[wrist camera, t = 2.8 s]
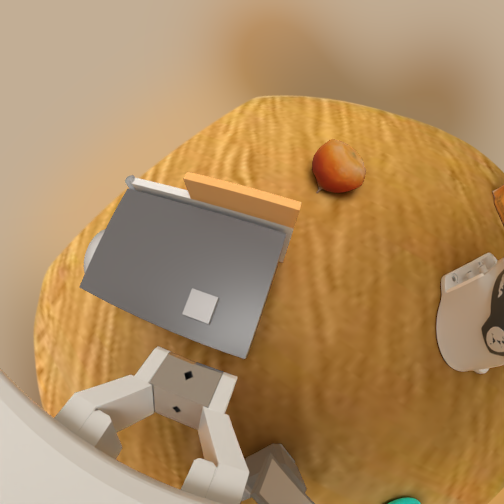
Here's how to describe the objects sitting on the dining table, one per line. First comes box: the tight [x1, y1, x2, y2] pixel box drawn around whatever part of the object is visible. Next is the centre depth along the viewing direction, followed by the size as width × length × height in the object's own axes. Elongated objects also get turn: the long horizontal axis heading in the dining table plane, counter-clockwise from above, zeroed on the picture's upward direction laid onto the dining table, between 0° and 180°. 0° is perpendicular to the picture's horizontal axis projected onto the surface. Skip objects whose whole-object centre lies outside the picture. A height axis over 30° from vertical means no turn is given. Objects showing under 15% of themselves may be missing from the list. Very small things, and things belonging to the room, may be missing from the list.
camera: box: [241, 443, 315, 504], centre depth 19 cm, size 9×12×15 cm
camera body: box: [80, 189, 286, 359], centre depth 29 cm, size 20×12×11 cm, turn 71°
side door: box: [125, 172, 302, 263], centre depth 30 cm, size 19×1×14 cm, turn 71°
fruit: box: [312, 139, 366, 193], centre depth 37 cm, size 8×8×8 cm
